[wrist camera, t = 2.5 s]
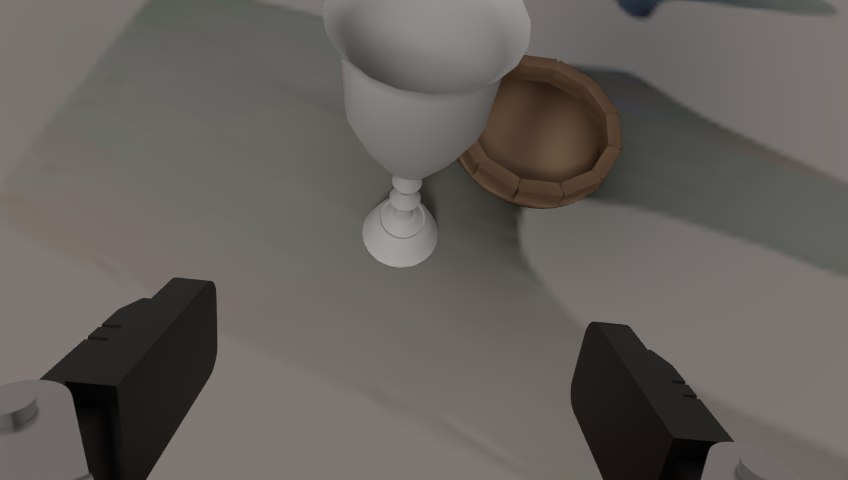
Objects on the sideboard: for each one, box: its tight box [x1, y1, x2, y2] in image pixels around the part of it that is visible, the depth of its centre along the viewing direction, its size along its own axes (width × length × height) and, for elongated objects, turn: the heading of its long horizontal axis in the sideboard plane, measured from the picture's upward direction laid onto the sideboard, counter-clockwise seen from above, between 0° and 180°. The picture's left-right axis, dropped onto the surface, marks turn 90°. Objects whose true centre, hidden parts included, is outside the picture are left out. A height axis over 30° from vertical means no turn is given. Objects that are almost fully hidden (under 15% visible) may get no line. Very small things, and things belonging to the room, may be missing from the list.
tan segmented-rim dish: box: [458, 55, 622, 209], centre depth 37 cm, size 12×12×2 cm
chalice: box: [322, 0, 531, 268], centre depth 26 cm, size 7×7×18 cm
